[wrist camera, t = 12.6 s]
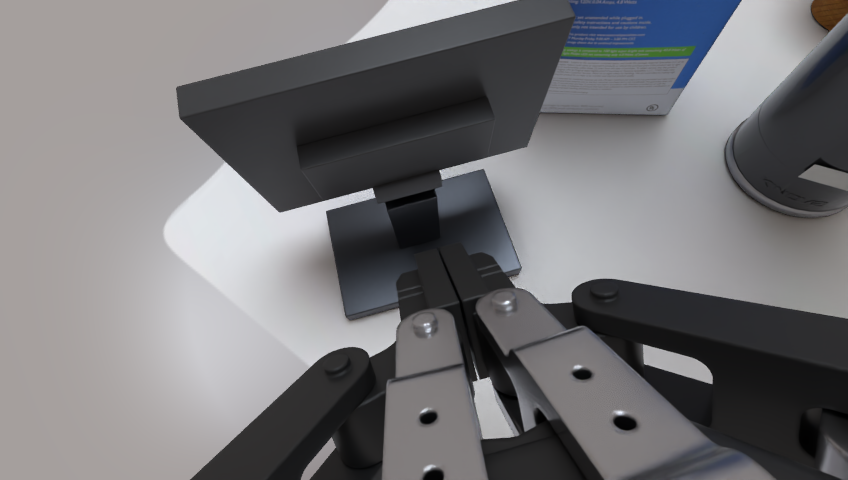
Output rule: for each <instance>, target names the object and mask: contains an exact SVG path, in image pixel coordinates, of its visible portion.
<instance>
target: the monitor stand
mask: <svg viewBox="0 0 848 480" xmlns="http://www.w3.org/2000/svg"><path fill="white" fill-rule="evenodd" d="M326 214H327V219H328V225H329V230H330V235H331V241H332V246H333V251H334V257H335V262H336V267H337V273H338V278H339V283H340V289H341V294H342V299H343V305H344V310H345V315H346V317H347V318H348V319H349V320H353V319H357V318H361V317H364V316H368V315H371V314H375V313H379V312H382V311H386V310H389V309H393V308H397V307H399V303H398V295H397V288H396V282H397V280H398V278H399V277H400V275H401V273H405V272H409V271H413V270H416V269H418V268H417V264H416V260H415V256H414V254H417V253H420V252H424V251H428V250H432V249H435V248H436V249H437V251H438V248H439V247H442V246H446V245H450V244H454V243H457V242H461V243H462V244H463V246H464V248H465V249H466V251H467V253H468V254H469V255H471V254H475V253H479V252H483V253H486V254H488V255H490V256H493V258H494V259H495V260H496V262H497V263H498V265H499V266H500V267H501V269H502V270H503V271H504V273H505V274H506V275H507V277H508V276H512V275H516V274H519V273H520V271H521V268H522V267H521V265H520V262H519V259H518V257H517V254H516V252H515V249H514V246H513V244H512V241H511V239H510V236H509V233H508V231H507V228H506V226H505V223H504V220H503V218H502V215H501V213H500V210H499V207H498V205H497V202H496V200H495V197H494V194H493V192H492V189H491V187H490V184H489V181H488V179H487V176H486V174H485V171H484V169H482V170H478V171H474V172H471V173H467V174H463V175H459V176H456V177H452V178H448V179H444V180H442V187H440V188H436V189H432V190H428V191H425V192H421V193H417V194H414V195H410V196H406V197H402V198H399V199H395V200H391V201H387V202H384V203H380V204H378V203H377V201H376V198H373V199H370V200H366V201H362V202H359V203H355V204H351V205H347V206H344V207H340V208H336V209H332V210H329V211H326ZM438 253H439V251H438Z"/></svg>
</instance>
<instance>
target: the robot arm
mask: <svg viewBox="0 0 848 480" xmlns="http://www.w3.org/2000/svg"><path fill="white" fill-rule="evenodd" d="M726 160H727V164H728V167H729V170H730V172H731V174H732V176H733V177H734V179H735V180H736V182H737V183H738V184H739V186H740V187H741V188H742V189H743V190H744V191H745V192H746V193H747V194H749V195H750V196H751V197H752V198H754V199H755V200H757V201H758V202H760V203H761V204H763V205H765V206H767V207H769V208H771V209H773V210H776V211H778V212H781V213H784V214H788V215H792V216H797V217H807V218H815V217H824V216H829V215H832V214H835V213H837V212H840V211H841V210H843V209H845V208H847V207H848V13H847V14H846V15H845V16H844V17H843V18H842V19H841V20H840V21H839V22H838V23H837V25H836V26H835V27H834V28H833V29H832V30H831V31H830V32H829V33H828V34H827V35H826V36H825V37H824V38H823V39H822V40H821V42H820V43H819V44H818V45H817V46H816V47H815V48H814V49H813V50H812V51H811V52H810V53H809V54H808V55H807V56H806V57H805V58H804V60H803V61H802V62H801V63H800V64H799V65H798V66H797V67H796V68H795V69H794V70H793V71H792V72H791V73H790V74H789V75H788V76H787V78H786V79H785V80H784V81H783V82H782V83H781V84H780V85H779V86H778V87H777V88H776V89H775V90H774V91H773V92H772V93H771V94H770V95H769V96H768V97H767V98H766V99H765V100H764V102H763V103H762V104H761V105H760V106H759V107H758V108H757V109H756V110H755V111H754V112H753V113H752V114H751V116H750V117H749V118H747V119H746V120H745V121H743V122H742V123H741V124H740V125H739V126H738V127H737V128H736V129H735V130H734V132H733V133H732V134H731V136H730V138H729V140H728V142H727V146H726ZM438 251H439V253H438ZM438 251H437V249H436V248H435V249H432V250H428V251H424V252H420V253H417V254H414V256H415V260H416V264H417V268H418V269H416V270H413V271H409V272H405V273H401V275H400V277H399V278H398V280H397V282H396V288H397V295H398V303H399V310H400V317H401V322H400V324H399V325H398V327H397V331H396V341H395V343H393V344H392V345H391V346H390V347H388V348H387V349H386V350H384V351H382V352H380V353H378V354H376V355H374V356H372V357H370V358H369V355H368V353H367V352H366V351H365V350H363V349H361V348H356V347H348V348H342V349H338V350H336V351H333V352H331V353H329V354H327V355H325V356H323V357H322V358H321V359H319V360H318V361H317V362H316V363H315V364H314V365H313V366H311V367H310V368H309V369H308V370H307V371H306V372H305V373H304V374H303V375H302V376H301V377H300V378H299V379H298V380H296V381H295V382H294V383H293V384H292V385H291V386H290V387H289V388H288V389H287V390H286V391H285V392H284V393H283V394H282V395H280V396H279V397H278V398H277V399H276V400H275V401H274V402H273V403H272V404H271V405H270V406H269V407H268V408H267V409H266V410H264V411H263V412H262V413H261V414H260V415H259V416H258V417H257V418H256V419H255V420H254V421H253V422H251V423H250V424H249V425H248V426H247V427H246V428H245V429H244V430H243V431H242V432H241V433H240V434H239V435H238V436H237V437H235V438H234V439H233V440H232V441H231V442H230V443H229V444H228V445H227V446H226V447H225V448H224V449H223V450H222V451H220V452H219V453H218V454H217V455H216V456H215V457H214V458H213V459H212V460H211V461H210V462H209V463H208V464H207V465H205V466H204V467H203V468H202V469H201V470H200V471H199V472H198V473H197V474H196V475H195V476H194V477H193V478H192V479H190V480H301V477H302V474H303V471H304V470H305V468H306V467H307V465H308V464H309V463H310V462H311V461H312V459H313V458H314V457H315V456H316V455H317V453H318V452H319V451H320V450H321V449H322V447H323V446H324V445H325V444H326V443H327V442H328V441H329V439H330V438H331V437H332V438H333V441H334V443H335V446H336V448H335V450H334V451H333V452H332V453H331V454H330V456H329V457H328V458H327V459H326V460H325V462H324V463H323V464H322V465H321V467H320V468H319V469H318V470H317V471H316V473H315V474H314V475H313V476H312V477H311V479H310V480H848V319H845V318H839V317H834V316H828V315H822V314H816V313H810V312H804V311H798V310H792V309H787V308H781V307H775V306H769V305H763V304H757V303H751V302H746V301H740V300H734V299H728V298H722V297H716V296H710V295H705V294H699V293H693V292H687V291H681V290H675V289H669V288H664V287H658V286H652V285H646V284H640V283H634V282H628V281H623V280H616V279H596V280H591V281H588V282H585V283H582V284H580V285H579V286H577V287H576V288H575V289H574V290H573V292H572V302H571V303H558V304H542V303H540V302H539V301H538V300H537V299H536V298H535V297H534V296H533V295H532V294H531V293H530V292H528V291H526V290H523V289H519V288H515V286H514V285H513V284H512V282H511V281H510V279H509V278H508V277H507V275H506V274H505V273H504V271H503V270H502V269H501V267H500V266H499V265H498V263H497V262H496V260H495V259H494V258H493V256H490V255H488V254H486V253H483V252H479V253H475V254H471V255H469V254H468V253H467V251H466V249H465V248H464V246H463V244H462V243H461V242H457V243H454V244H450V245H446V246H442V247H439V248H438ZM643 344H644V345H648V346H651V347H655V348H659V349H663V350H666V351H670V352H674V353H678V354H681V355H685V356H689V357H692V358H695V359H697V360H699V361H700V362H702V363H703V364H705V365H706V366H707V367H708V369H709V370H710V371H711V373H712V376H713V384H709V383H705V382H702V381H699V380H695V379H692V378H688V377H685V376H682V375H678V374H675V373H672V372H668V371H665V370H662V369H658V368H655V367H652V366H648V365H645V364H644V361H643ZM473 362H474V363H473ZM474 365H475V367H474ZM475 368H476V370H477V373H478V375H479V378H480V379H484V378H487V377H490V379H491V381H492V385H493V389H494V394H495V398H496V401H497V403H498V405H499V407H500V409H501V411H502V413H503V415H504V417H505V419H506V421H507V422H508V424H509V426H510V428H511V430H512V432H513V434H514V436H515V437H511V438H497V439H483V437H482V433H481V428H480V424H479V419H478V415H477V411H476V406H475V402H474V396H475V391H474V387H473V383H472V382H473V381H477V376H476V372H475Z"/></svg>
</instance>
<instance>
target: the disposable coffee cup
mask: <svg viewBox="0 0 848 480" xmlns="http://www.w3.org/2000/svg"><path fill="white" fill-rule="evenodd" d="M811 10H812V14H813V16H814V17H815V19H816V20H817V21H818V22H819V23H820V24H821V25H822V26H824V27H825V28H826V29H828V30H830V31H831V30H832V29H833V28H834V27H835V26H836V25H837V23H838V22H839V21H840V20H841V19H842V18H843V17H844V16H845V15H846V14H847V13H848V0H814V1H813V2H812V5H811Z"/></svg>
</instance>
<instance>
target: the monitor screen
mask: <svg viewBox="0 0 848 480" xmlns="http://www.w3.org/2000/svg"><path fill="white" fill-rule="evenodd" d="M575 18H576V16H575V13H574V11H573V9H572V7H571V5H570V3H569V1H568V0H517V1H513V2H509V3H505V4H501V5H497V6H494V7H490V8H486V9H482V10H478V11H474V12H470V13H466V14H462V15H458V16H454V17H450V18H446V19H442V20H438V21H434V22H431V23H427V24H423V25H419V26H415V27H411V28H407V29H403V30H399V31H395V32H391V33H387V34H383V35H379V36H375V37H371V38H367V39H364V40H360V41H356V42H352V43H348V44H344V45H340V46H336V47H332V48H328V49H324V50H320V51H316V52H312V53H308V54H304V55H301V56H297V57H293V58H289V59H285V60H281V61H277V62H273V63H269V64H265V65H261V66H258V67H253V68H249V69H246V70H241V71H238V72H234V73H230V74H226V75H222V76H218V77H214V78H210V79H206V80H202V81H198V82H194V83H191V84H186V85H182V86H179V87H177V88H176V90H177V99H178V108H179V117H180V119H181V120H182V121H183V122H184V123H185V124H186V125H187V126H188V127H189V128H190V129H192V130H193V131H194V132H195V133H196V134H197V135H198V136H199V137H200V138H201V139H202V140H203V141H204V142H205V143H206V144H208V145H209V146H210V147H211V148H212V149H213V150H214V151H215V152H216V153H217V154H218V155H219V156H220V157H221V158H222V159H223V160H224V161H225V162H226V163H228V164H229V165H230V166H231V167H232V168H233V169H234V170H235V171H236V172H237V173H238V174H239V175H240V176H241V177H242V178H243V179H245V180H246V181H247V182H248V183H249V184H250V185H251V186H252V187H253V188H254V189H255V190H256V191H257V192H258V193H259V194H260V195H261V196H263V197H264V198H265V199H266V200H267V201H268V202H269V203H270V204H271V205H272V206H273V207H274V208H275V209H276V210H277V211H278V212H284V211H288V210H292V209H295V208H299V207H303V206H307V205H310V204H314V203H318V202H322V201H325V200H329V199H333V198H337V197H340V196H344V195H348V194H352V193H355V192H359V191H363V190H367V189H370V188H373V190H374V194H375V197H376V201H377V203H378V204H380V203H384V202H387V201H391V200H395V199H399V198H402V197H406V196H410V195H414V194H417V193H421V192H425V191H428V190H432V189H436V188H440V187H442V179H441V175H440V172H439V170H442V169H445V168H449V167H453V166H457V165H460V164H464V163H468V162H472V161H475V160H479V159H483V158H487V157H490V156H494V155H498V154H502V153H505V152H509V151H513V150H517V149H520V148H524V147H527V145H528V142H529V140H530V137H531V134H532V132H533V129H534V126H535V124H536V121H537V118H538V116H539V113H540V111H541V108H542V105H543V103H544V100H545V97H546V95H547V92H548V89H549V87H550V84H551V81H552V79H553V76H554V73H555V71H556V68H557V65H558V63H559V60H560V58H561V55H562V52H563V50H564V47H565V44H566V42H567V39H568V36H569V34H570V31H571V28H572V26H573V23H574V20H575Z"/></svg>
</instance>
